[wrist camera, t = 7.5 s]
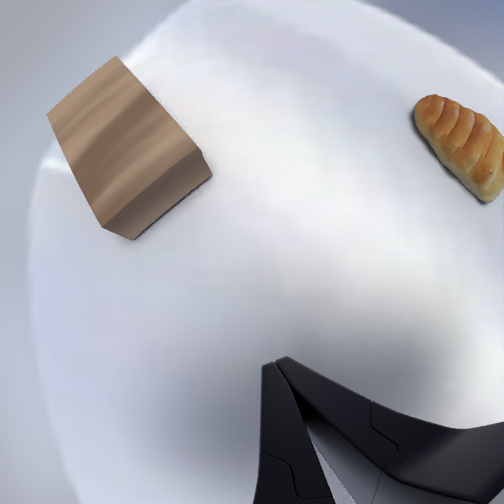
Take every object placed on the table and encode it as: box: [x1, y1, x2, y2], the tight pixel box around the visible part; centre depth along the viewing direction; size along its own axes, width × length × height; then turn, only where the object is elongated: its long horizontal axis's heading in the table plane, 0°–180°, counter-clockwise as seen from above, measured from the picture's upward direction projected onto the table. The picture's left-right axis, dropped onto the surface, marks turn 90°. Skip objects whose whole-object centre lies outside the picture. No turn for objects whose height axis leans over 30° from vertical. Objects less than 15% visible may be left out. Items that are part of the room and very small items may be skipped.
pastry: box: [414, 94, 504, 203], centre depth 18 cm, size 9×7×4 cm
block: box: [47, 56, 212, 240], centre depth 19 cm, size 4×7×12 cm
